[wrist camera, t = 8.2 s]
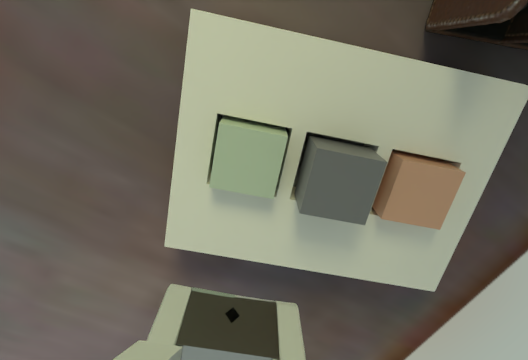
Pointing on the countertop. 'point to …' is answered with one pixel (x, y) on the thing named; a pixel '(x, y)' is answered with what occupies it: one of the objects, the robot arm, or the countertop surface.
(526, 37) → the letter holder
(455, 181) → the terracotta key
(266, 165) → the sage key
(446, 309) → the countertop surface
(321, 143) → the charcoal key
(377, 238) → the cream key base
